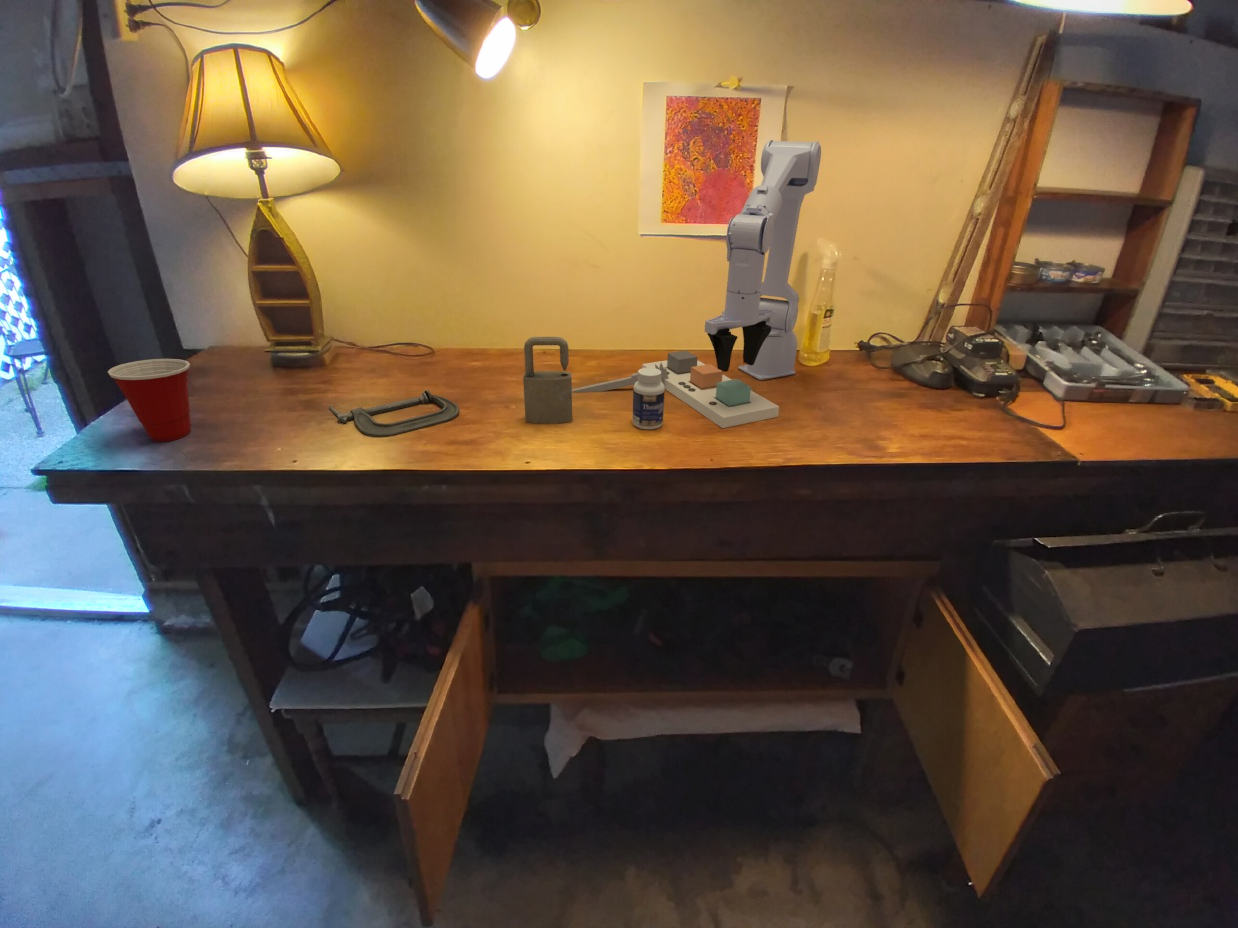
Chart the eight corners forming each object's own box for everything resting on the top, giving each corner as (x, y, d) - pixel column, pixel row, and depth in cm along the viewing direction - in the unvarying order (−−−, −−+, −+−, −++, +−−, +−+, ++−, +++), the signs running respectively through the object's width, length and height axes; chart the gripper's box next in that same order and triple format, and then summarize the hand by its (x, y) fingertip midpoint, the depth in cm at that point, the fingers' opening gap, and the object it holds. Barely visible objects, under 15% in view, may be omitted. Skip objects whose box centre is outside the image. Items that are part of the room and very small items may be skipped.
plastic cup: (224, 424, 113) (204, 357, 107) (172, 452, 103) (147, 380, 98) (172, 417, 115) (150, 351, 109) (116, 443, 106) (89, 373, 100)
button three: (708, 378, 130) (710, 364, 129) (721, 385, 127) (722, 371, 125) (689, 381, 128) (690, 367, 127) (702, 389, 125) (703, 374, 124)
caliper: (666, 391, 132) (668, 361, 129) (667, 393, 131) (669, 363, 128) (565, 396, 129) (564, 365, 126) (565, 398, 128) (564, 367, 125)
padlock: (572, 423, 115) (570, 340, 108) (525, 424, 115) (520, 340, 108) (572, 414, 119) (570, 333, 112) (526, 414, 118) (522, 333, 111)
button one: (735, 394, 123) (736, 379, 122) (749, 402, 120) (751, 387, 118) (715, 397, 121) (717, 382, 120) (729, 406, 118) (730, 390, 116)
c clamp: (349, 448, 107) (346, 433, 105) (328, 411, 120) (325, 397, 118) (468, 423, 116) (467, 408, 115) (437, 391, 129) (436, 378, 128)
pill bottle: (641, 432, 112) (643, 379, 108) (626, 421, 116) (628, 368, 112) (668, 427, 114) (671, 374, 110) (653, 415, 119) (655, 364, 114)
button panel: (690, 365, 143) (691, 355, 142) (777, 416, 119) (779, 405, 118) (641, 373, 138) (642, 363, 137) (722, 428, 114) (723, 417, 113)
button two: (685, 364, 137) (686, 350, 136) (696, 371, 134) (697, 357, 132) (667, 367, 135) (667, 353, 134) (677, 374, 132) (678, 359, 131)
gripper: (757, 280, 118) (749, 353, 124) (695, 290, 110) (690, 367, 117) (787, 288, 112) (777, 364, 119) (723, 299, 105) (716, 379, 112)
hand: (735, 366), depth 117 cm, fingers open, 6 cm apart
